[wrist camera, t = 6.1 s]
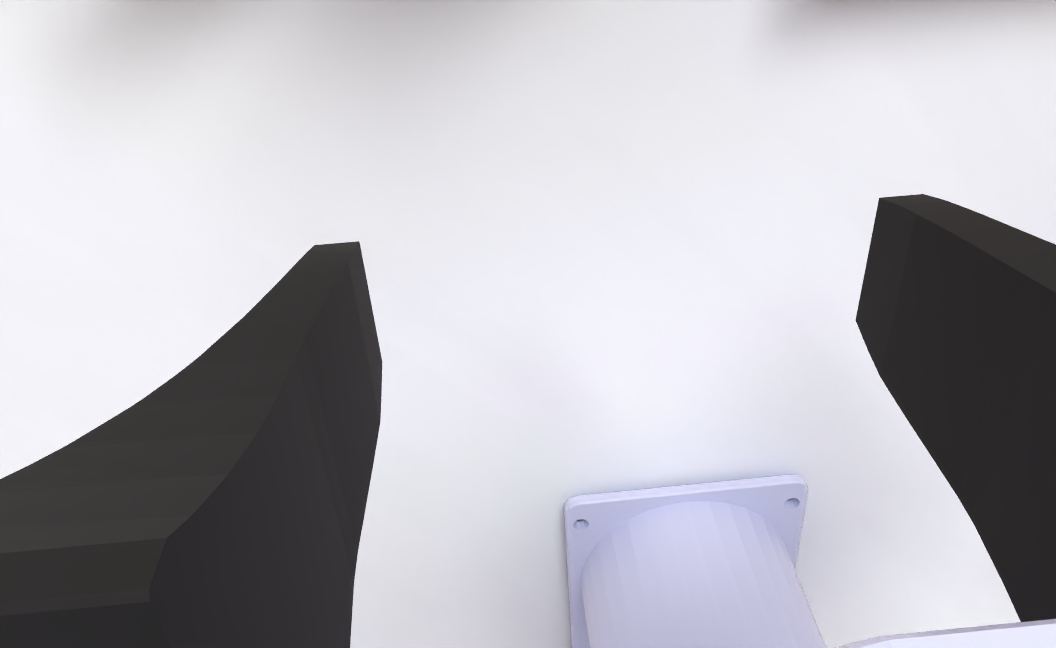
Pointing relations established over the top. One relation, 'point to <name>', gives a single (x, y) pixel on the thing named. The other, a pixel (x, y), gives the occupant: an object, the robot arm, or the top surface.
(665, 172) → the top surface
